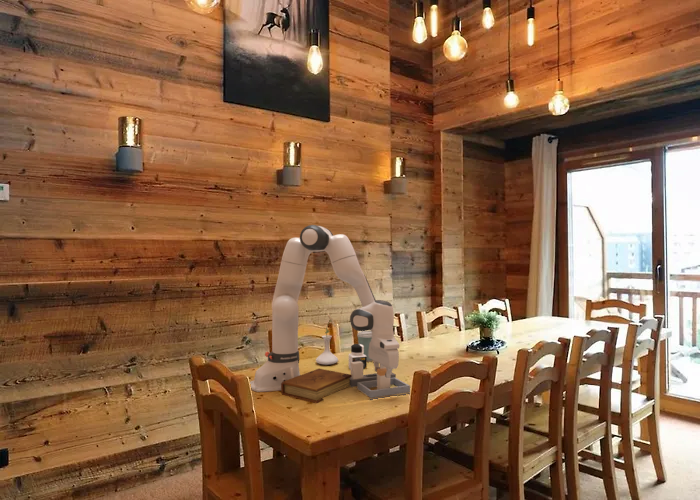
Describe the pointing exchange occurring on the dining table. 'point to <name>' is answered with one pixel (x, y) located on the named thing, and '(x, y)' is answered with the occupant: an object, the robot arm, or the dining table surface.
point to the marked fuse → (382, 379)
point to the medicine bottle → (357, 355)
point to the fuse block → (366, 379)
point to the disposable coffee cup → (365, 342)
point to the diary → (315, 385)
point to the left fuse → (357, 370)
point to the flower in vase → (327, 349)
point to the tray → (383, 392)
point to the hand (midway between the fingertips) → (382, 374)
